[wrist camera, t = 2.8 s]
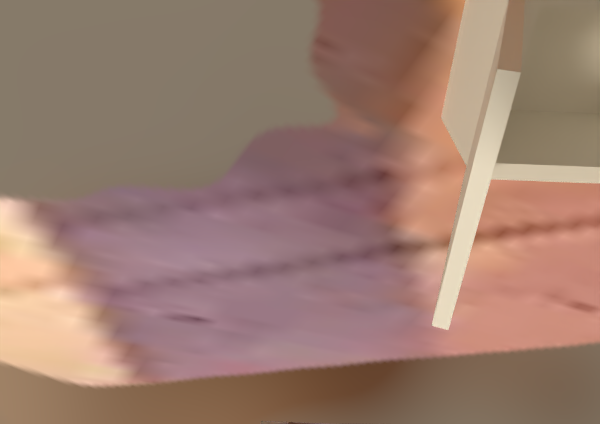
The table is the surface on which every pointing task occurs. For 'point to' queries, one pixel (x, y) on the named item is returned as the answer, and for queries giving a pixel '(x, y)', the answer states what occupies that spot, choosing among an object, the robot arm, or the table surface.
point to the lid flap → (482, 157)
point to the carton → (533, 89)
